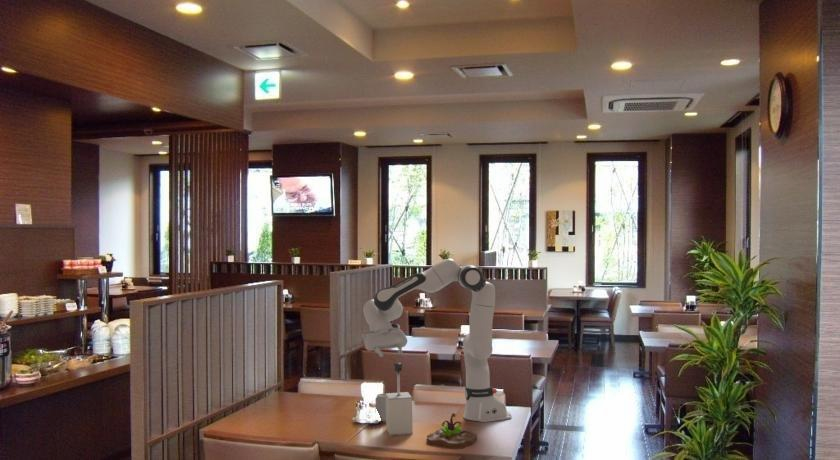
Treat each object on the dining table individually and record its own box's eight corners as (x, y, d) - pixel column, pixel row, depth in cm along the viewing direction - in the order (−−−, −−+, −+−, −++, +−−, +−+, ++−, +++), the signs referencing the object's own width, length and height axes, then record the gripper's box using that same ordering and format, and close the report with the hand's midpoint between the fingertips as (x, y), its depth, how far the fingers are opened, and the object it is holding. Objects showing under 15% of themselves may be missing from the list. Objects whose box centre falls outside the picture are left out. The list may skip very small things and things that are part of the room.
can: (389, 422, 314) (389, 396, 315) (374, 422, 316) (373, 396, 316) (393, 418, 322) (393, 393, 322) (378, 417, 323) (377, 392, 323)
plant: (484, 438, 290) (483, 411, 290) (462, 451, 273) (462, 423, 273) (443, 431, 300) (442, 406, 300) (419, 443, 284) (419, 416, 284)
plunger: (406, 408, 305) (405, 361, 305) (409, 413, 297) (408, 364, 297) (388, 409, 303) (387, 362, 303) (391, 414, 295) (390, 365, 296)
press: (408, 427, 306) (407, 392, 306) (412, 434, 296) (412, 397, 296) (386, 429, 304) (385, 393, 304) (389, 435, 294) (389, 398, 294)
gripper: (362, 328, 307) (373, 353, 298) (402, 324, 317) (413, 348, 309) (358, 337, 310) (368, 361, 302) (397, 333, 321) (408, 356, 312)
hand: (391, 355), depth 305 cm, fingers open, 8 cm apart
